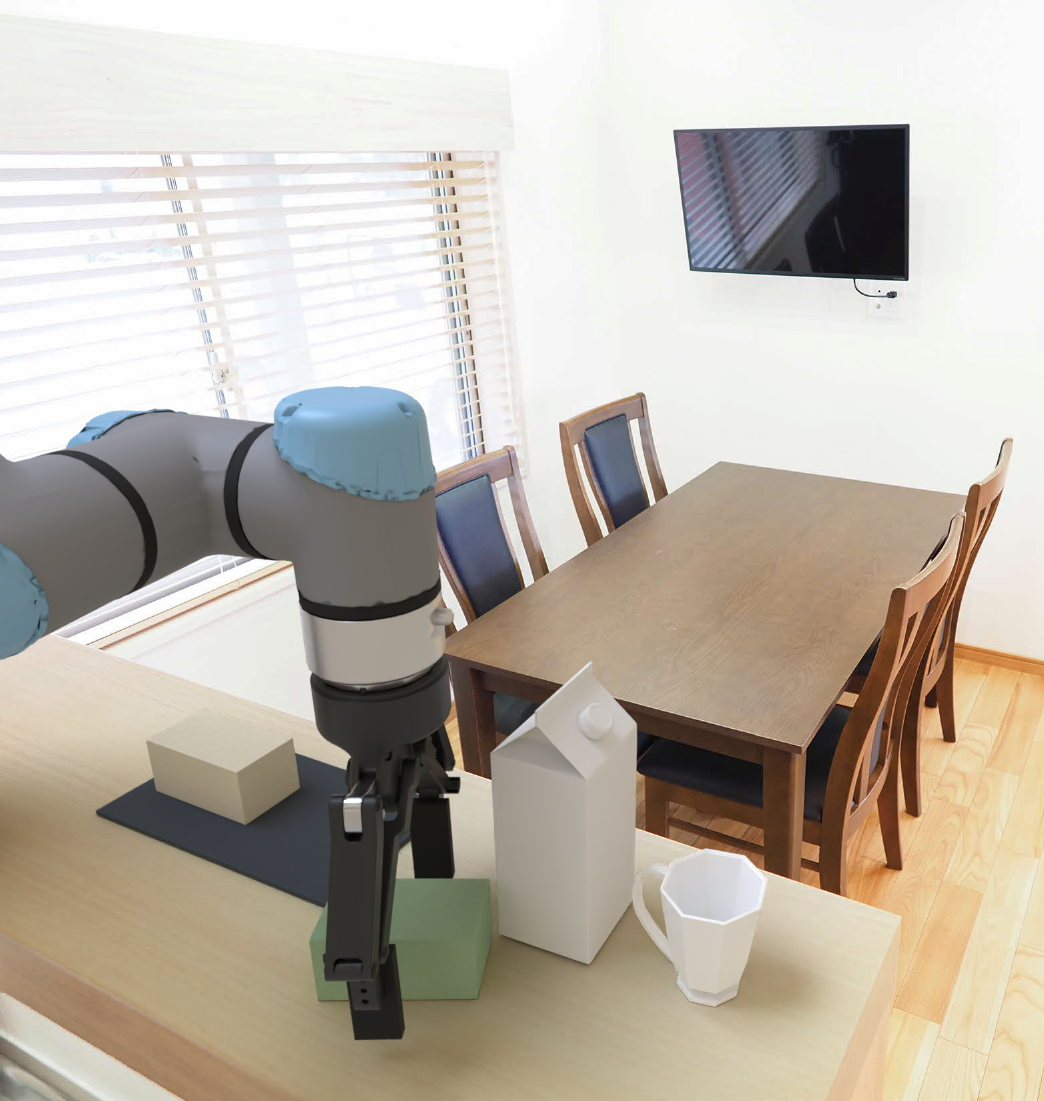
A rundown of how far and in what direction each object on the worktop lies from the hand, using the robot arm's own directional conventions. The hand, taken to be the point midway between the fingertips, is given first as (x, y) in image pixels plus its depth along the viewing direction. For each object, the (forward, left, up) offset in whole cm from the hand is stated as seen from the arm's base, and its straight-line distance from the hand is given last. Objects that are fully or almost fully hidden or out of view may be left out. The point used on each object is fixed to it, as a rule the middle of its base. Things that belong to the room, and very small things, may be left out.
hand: (410, 947), depth 61 cm
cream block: (-10, +25, -1) cm, 27 cm away
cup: (+17, -8, -2) cm, 19 cm away
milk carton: (+11, 0, -2) cm, 11 cm away
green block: (0, 0, -2) cm, 2 cm away
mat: (-7, +21, -2) cm, 22 cm away
